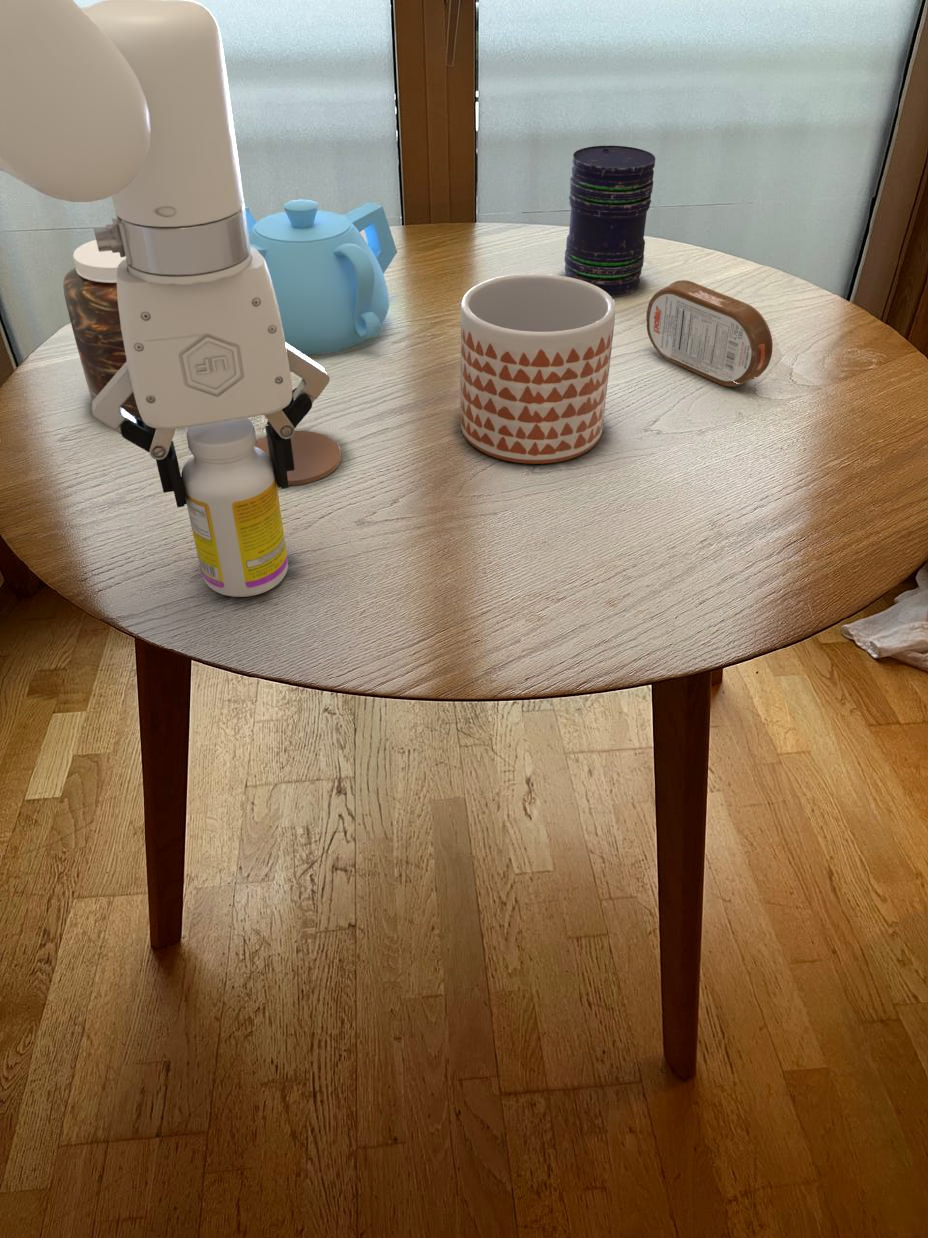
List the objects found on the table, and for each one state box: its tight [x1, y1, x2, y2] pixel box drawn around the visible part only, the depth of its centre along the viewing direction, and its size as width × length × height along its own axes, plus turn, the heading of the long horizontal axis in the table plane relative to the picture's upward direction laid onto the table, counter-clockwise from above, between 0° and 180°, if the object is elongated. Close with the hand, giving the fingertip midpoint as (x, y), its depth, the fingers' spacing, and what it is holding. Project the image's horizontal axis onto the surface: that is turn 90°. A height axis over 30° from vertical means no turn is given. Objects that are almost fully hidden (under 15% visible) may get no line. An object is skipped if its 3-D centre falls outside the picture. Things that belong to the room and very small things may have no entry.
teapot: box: [245, 198, 398, 355], centre depth 106 cm, size 19×19×14 cm
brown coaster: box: [255, 430, 342, 486], centre depth 88 cm, size 9×9×1 cm
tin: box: [645, 279, 774, 387], centre depth 100 cm, size 15×3×8 cm, turn 40°
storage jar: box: [563, 145, 656, 298], centre depth 117 cm, size 10×10×15 cm
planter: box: [460, 273, 617, 465], centre depth 89 cm, size 14×14×13 cm
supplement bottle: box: [180, 418, 289, 598], centre depth 71 cm, size 7×7×13 cm
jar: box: [62, 239, 143, 420], centre depth 92 cm, size 12×12×15 cm
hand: (230, 486), depth 70 cm, fingers closed on supplement bottle, 6 cm apart
